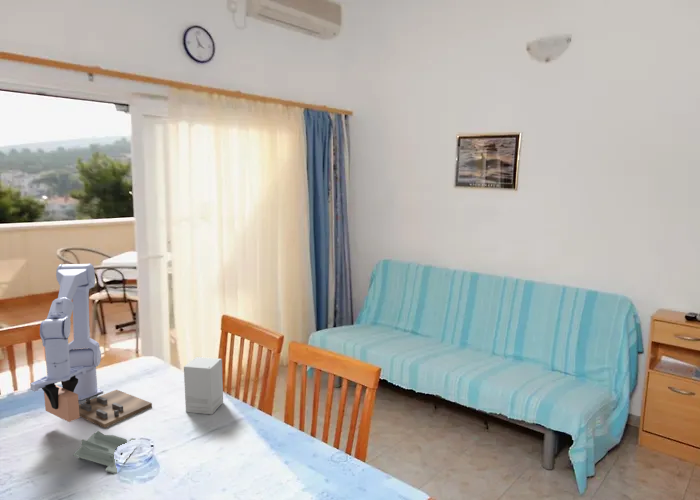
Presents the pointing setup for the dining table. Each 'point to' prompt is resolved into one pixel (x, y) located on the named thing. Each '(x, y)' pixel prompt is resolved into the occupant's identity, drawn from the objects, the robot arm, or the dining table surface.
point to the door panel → (64, 405)
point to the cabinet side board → (111, 408)
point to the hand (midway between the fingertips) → (61, 405)
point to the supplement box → (203, 385)
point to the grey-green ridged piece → (101, 449)
